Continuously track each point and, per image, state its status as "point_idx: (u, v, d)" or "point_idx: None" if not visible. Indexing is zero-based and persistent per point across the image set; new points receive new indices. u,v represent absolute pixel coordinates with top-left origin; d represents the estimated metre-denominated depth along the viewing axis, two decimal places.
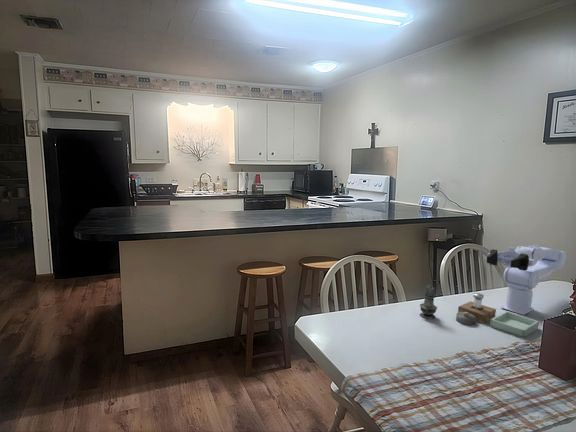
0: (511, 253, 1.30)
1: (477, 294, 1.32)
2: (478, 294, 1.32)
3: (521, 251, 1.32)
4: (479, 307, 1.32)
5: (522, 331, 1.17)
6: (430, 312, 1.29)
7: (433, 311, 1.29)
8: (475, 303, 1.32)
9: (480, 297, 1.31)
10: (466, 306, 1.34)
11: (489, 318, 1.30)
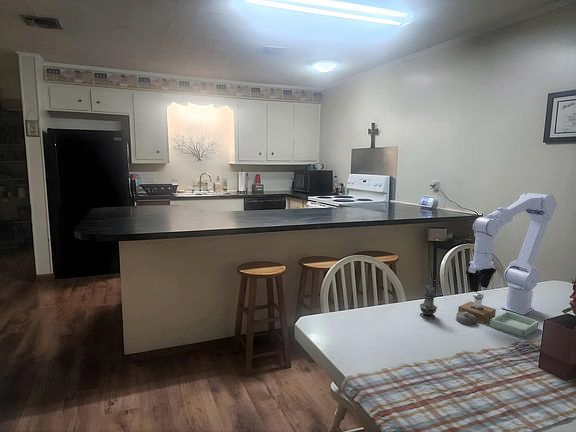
0: None
1: (477, 294, 1.32)
2: (478, 294, 1.32)
3: (474, 250, 1.31)
4: (479, 307, 1.32)
5: (522, 331, 1.17)
6: (430, 312, 1.29)
7: (433, 311, 1.29)
8: (475, 303, 1.32)
9: (480, 297, 1.31)
10: (466, 306, 1.34)
11: (489, 318, 1.30)
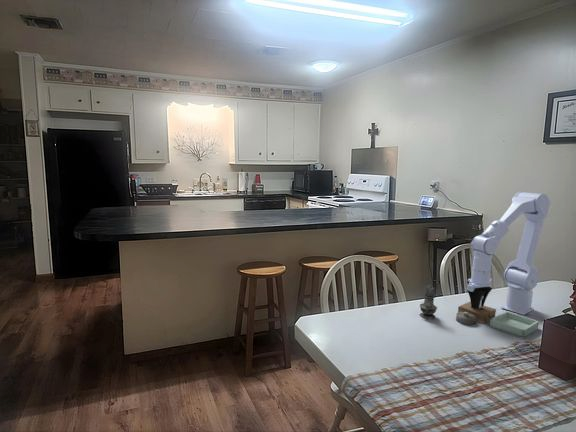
0: None
1: None
2: None
3: (472, 268, 1.32)
4: (479, 307, 1.32)
5: (522, 331, 1.17)
6: (430, 312, 1.29)
7: (433, 311, 1.29)
8: None
9: None
10: (466, 306, 1.34)
11: (489, 318, 1.30)
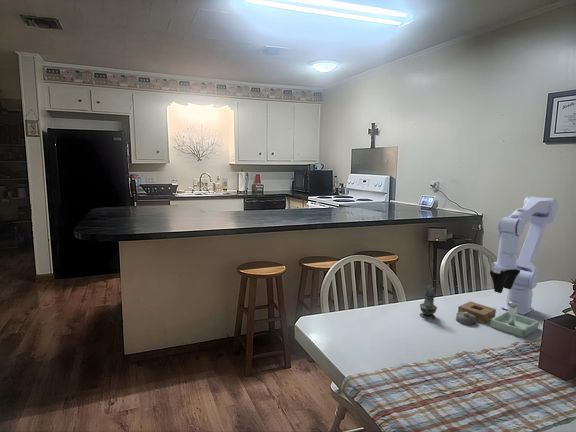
0: None
1: (512, 302, 1.24)
2: (513, 302, 1.24)
3: (498, 251, 1.29)
4: (514, 315, 1.23)
5: (522, 331, 1.17)
6: (430, 312, 1.29)
7: (433, 311, 1.29)
8: (510, 311, 1.24)
9: (516, 305, 1.23)
10: (466, 306, 1.34)
11: (489, 318, 1.30)
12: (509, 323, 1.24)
